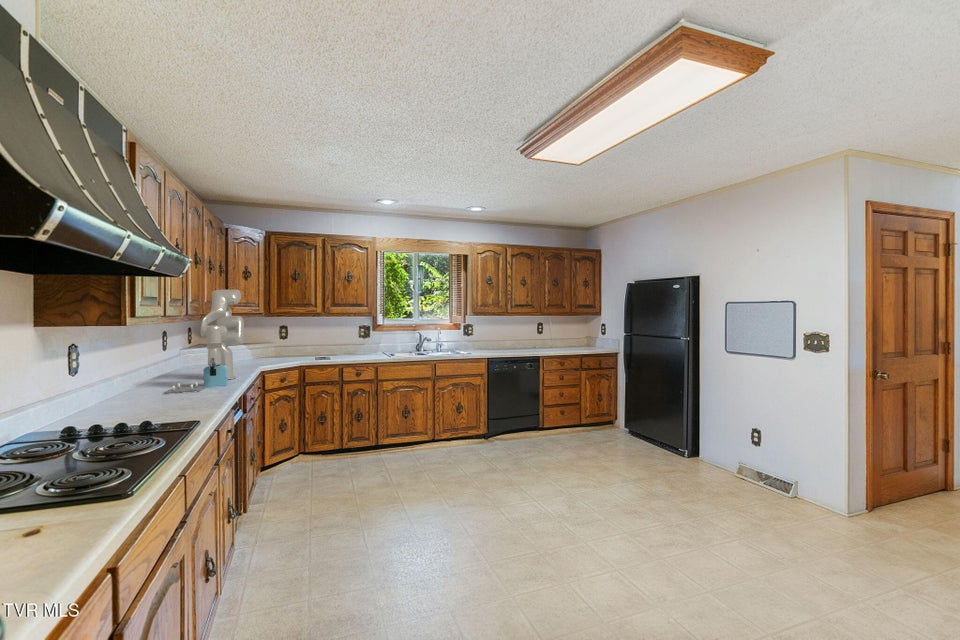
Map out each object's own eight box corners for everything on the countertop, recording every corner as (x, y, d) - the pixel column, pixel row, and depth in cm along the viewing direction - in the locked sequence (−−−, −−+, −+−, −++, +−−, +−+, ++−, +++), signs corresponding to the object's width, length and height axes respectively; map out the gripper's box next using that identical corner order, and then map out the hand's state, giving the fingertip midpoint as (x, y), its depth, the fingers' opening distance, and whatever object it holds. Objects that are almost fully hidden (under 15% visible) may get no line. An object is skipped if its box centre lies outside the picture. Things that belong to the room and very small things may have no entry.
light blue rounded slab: (228, 384, 279) (227, 365, 279) (226, 385, 275) (226, 366, 275) (205, 386, 275) (204, 366, 275) (204, 387, 271) (203, 367, 270)
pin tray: (173, 389, 265) (172, 383, 265) (205, 387, 270) (205, 381, 270) (163, 394, 252) (163, 387, 252) (198, 391, 256) (197, 384, 256)
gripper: (211, 346, 281) (212, 373, 281) (202, 347, 265) (204, 376, 265) (225, 345, 283) (226, 372, 283) (217, 346, 267) (218, 376, 267)
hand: (215, 374), depth 274 cm, fingers open, 9 cm apart
